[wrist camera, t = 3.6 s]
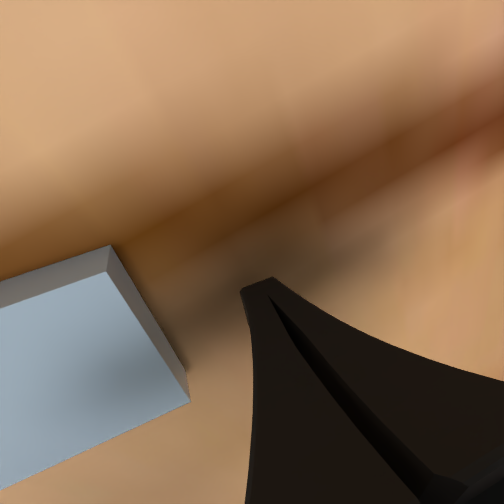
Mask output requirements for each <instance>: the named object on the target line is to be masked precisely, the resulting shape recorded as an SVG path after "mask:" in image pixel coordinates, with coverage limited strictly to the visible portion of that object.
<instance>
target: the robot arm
mask: <svg viewBox="0 0 504 504" xmlns="http://www.w3.org/2000/svg"><path fill="white" fill-rule="evenodd" d="M240 295H241V299H242V302H243V306H244V310H245V313H246V317H247V321H248V325H249V327H250V333H251V342H252V356H253V417H252V434H251V446H250V459H249V471H248V480H247V489H246V497H245V504H504V381H500V380H496V379H493V378H489V377H486V376H482V375H478V374H475V373H471V372H468V371H464V370H461V369H458V368H454V367H451V366H448V365H445V364H442V363H439V362H436V361H433V360H430V359H427V358H425V357H422V356H419V355H417V354H414V353H411V352H409V351H406V350H404V349H401V348H398V347H396V346H393V345H391V344H388V343H386V342H384V341H381V340H379V339H377V338H375V337H372V336H370V335H368V334H366V333H364V332H362V331H360V330H357V329H356V328H354V327H352V326H350V325H348V324H346V323H344V322H342V321H340V320H338V319H337V318H335V317H333V316H331V315H329V314H328V313H326V312H324V311H323V310H321V309H319V308H318V307H316V306H315V305H313V304H311V303H310V302H308V301H307V300H305V299H304V298H302V297H301V296H299V295H298V294H296V293H295V292H293V291H292V290H291V289H289V288H288V287H286V286H285V285H284V284H282V283H281V282H280V281H278V280H277V279H276V278H274V277H270V278H268V279H265V280H263V281H260V282H257V283H255V284H252V285H249V286H247V287H244V288H242V289H241V291H240Z"/></svg>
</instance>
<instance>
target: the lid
mask: <svg viewBox="0 0 504 504" xmlns="http://www.w3.org/2000/svg"><path fill="white" fill-rule="evenodd" d="M189 402H191V400H190V394H189V388H188V382H187V377H186V371H185V369H184V367H183V366H182V364H181V362H180V361H179V359H178V357H177V356H176V354H175V352H174V351H173V349H172V347H171V346H170V344H169V342H168V340H167V339H166V337H165V335H164V334H163V332H162V330H161V329H160V327H159V325H158V324H157V322H156V320H155V319H154V317H153V315H152V314H151V312H150V310H149V309H148V307H147V305H146V304H145V302H144V300H143V299H142V297H141V295H140V293H139V292H138V290H137V288H136V287H135V285H134V283H133V282H132V280H131V278H130V277H129V275H128V273H127V272H126V270H125V268H124V267H123V265H122V263H121V262H120V260H119V258H118V257H117V255H116V253H115V252H114V250H113V248H112V247H111V245H108V246H105V247H102V248H99V249H96V250H93V251H90V252H87V253H84V254H81V255H78V256H75V257H72V258H69V259H66V260H63V261H61V262H58V263H55V264H52V265H49V266H46V267H43V268H40V269H37V270H34V271H31V272H28V273H25V274H22V275H19V276H16V277H13V278H10V279H7V280H4V281H1V282H0V490H2V489H4V488H6V487H9V486H11V485H13V484H15V483H17V482H19V481H22V480H24V479H26V478H28V477H30V476H32V475H34V474H37V473H39V472H41V471H43V470H45V469H47V468H49V467H52V466H54V465H56V464H58V463H60V462H62V461H65V460H67V459H69V458H71V457H73V456H75V455H77V454H80V453H82V452H84V451H86V450H88V449H90V448H92V447H95V446H97V445H99V444H101V443H103V442H105V441H107V440H110V439H112V438H114V437H116V436H118V435H120V434H123V433H125V432H127V431H129V430H131V429H133V428H135V427H138V426H140V425H142V424H144V423H146V422H148V421H150V420H153V419H155V418H157V417H159V416H161V415H163V414H166V413H168V412H170V411H172V410H174V409H176V408H178V407H181V406H183V405H185V404H187V403H189Z"/></svg>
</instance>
